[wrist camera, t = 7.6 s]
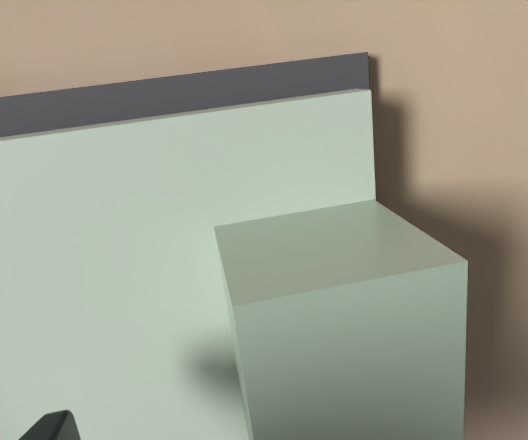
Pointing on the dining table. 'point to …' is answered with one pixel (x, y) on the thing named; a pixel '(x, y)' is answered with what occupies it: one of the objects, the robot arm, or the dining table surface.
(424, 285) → the lid
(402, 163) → the dining table surface
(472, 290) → the dining table surface
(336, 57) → the mat
